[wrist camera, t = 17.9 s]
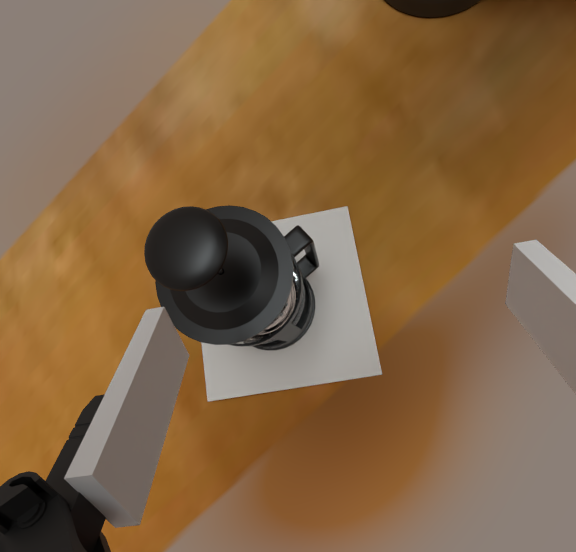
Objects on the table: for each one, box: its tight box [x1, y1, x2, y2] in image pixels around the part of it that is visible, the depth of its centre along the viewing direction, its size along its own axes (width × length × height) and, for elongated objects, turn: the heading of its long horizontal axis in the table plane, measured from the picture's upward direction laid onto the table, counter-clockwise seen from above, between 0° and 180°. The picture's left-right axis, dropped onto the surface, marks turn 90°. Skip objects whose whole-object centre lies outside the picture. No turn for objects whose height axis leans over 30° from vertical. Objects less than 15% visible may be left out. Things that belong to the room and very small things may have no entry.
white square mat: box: [201, 206, 382, 401], centre depth 40 cm, size 18×18×1 cm
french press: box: [144, 206, 319, 351], centre depth 29 cm, size 12×9×23 cm
